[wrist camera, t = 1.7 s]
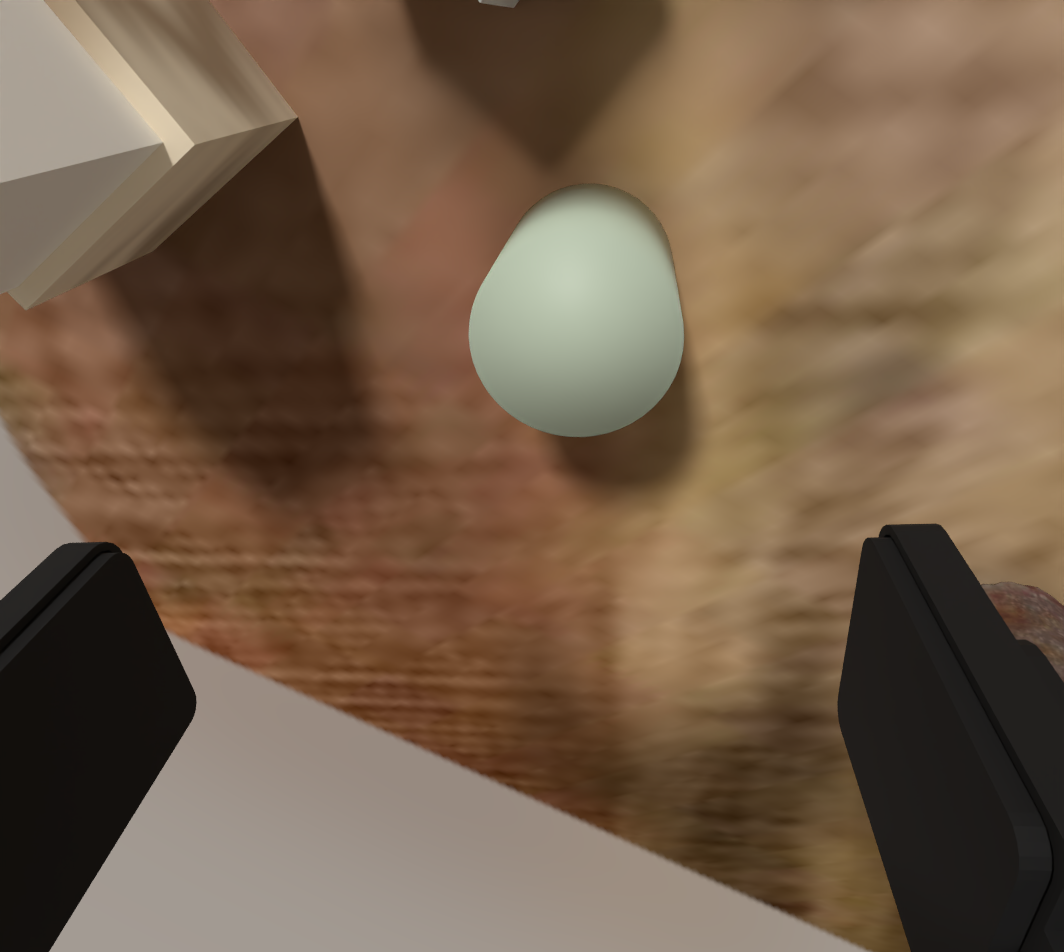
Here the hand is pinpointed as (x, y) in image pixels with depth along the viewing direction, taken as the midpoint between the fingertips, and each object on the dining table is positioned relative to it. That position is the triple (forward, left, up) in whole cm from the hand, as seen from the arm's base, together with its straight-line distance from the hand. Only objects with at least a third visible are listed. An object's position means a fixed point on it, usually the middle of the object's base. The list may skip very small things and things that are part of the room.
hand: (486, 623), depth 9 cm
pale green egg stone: (0, 0, -16) cm, 16 cm away
